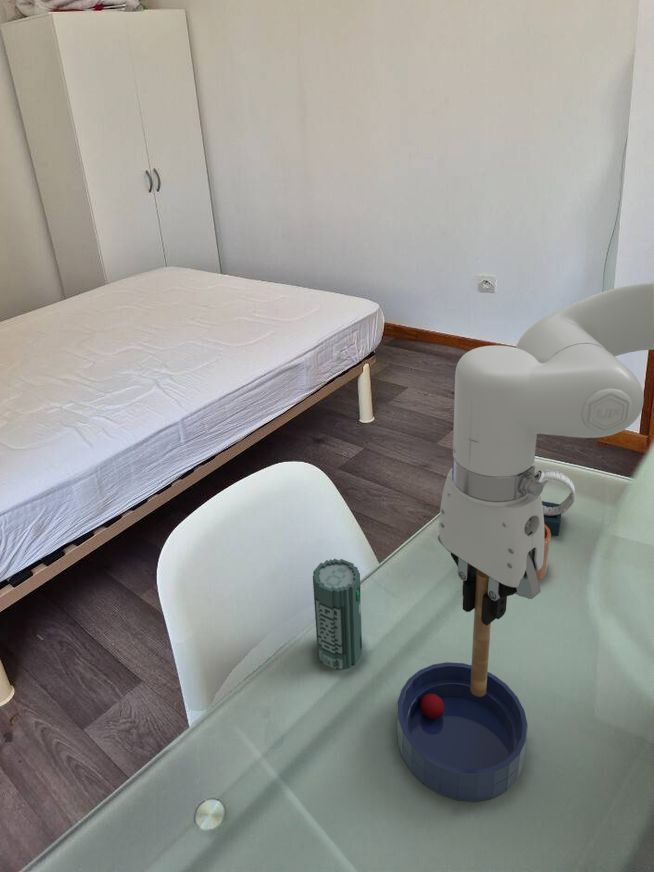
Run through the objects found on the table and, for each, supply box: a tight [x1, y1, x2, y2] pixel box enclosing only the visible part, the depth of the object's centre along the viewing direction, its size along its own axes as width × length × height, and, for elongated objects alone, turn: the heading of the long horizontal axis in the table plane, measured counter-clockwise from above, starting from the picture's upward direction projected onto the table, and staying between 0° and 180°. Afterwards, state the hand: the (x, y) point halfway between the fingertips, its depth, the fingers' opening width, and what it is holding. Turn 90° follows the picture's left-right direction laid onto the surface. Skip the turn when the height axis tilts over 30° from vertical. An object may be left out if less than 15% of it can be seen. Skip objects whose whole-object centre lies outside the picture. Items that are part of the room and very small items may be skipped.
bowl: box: [396, 661, 529, 803], centre depth 85 cm, size 15×15×6 cm
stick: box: [470, 569, 492, 697], centre depth 76 cm, size 2×2×18 cm
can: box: [312, 558, 363, 671], centre depth 96 cm, size 6×6×15 cm
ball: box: [420, 694, 444, 719], centre depth 88 cm, size 3×3×3 cm
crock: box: [535, 524, 552, 581], centre depth 110 cm, size 7×7×8 cm
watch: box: [534, 469, 576, 537], centre depth 119 cm, size 6×8×11 cm
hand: (483, 610), depth 75 cm, fingers closed on stick, 1 cm apart
